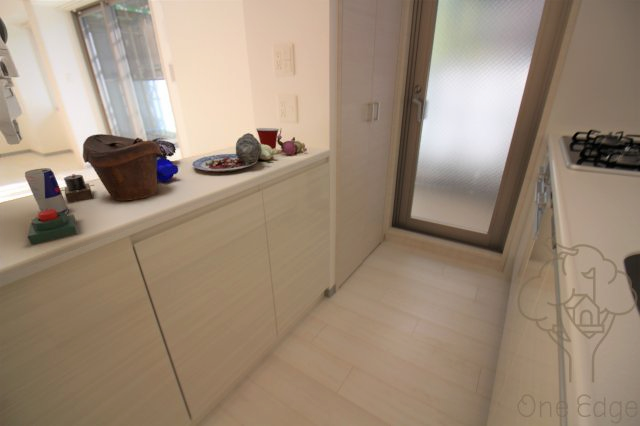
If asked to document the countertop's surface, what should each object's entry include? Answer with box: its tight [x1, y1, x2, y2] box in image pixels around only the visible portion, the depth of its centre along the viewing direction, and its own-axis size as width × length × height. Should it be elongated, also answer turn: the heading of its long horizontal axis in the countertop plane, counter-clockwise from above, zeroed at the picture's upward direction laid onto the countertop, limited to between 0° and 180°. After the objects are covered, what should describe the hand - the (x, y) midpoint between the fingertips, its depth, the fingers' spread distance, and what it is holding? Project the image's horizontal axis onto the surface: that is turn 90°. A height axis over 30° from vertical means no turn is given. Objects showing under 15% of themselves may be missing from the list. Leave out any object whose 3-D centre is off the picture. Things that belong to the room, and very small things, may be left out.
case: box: [82, 133, 164, 201], centre depth 87 cm, size 18×20×18 cm
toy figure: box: [157, 158, 179, 183], centre depth 103 cm, size 9×10×15 cm
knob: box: [63, 173, 87, 190], centre depth 87 cm, size 4×4×4 cm
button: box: [37, 209, 58, 221], centre depth 66 cm, size 3×3×2 cm
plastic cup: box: [255, 127, 280, 149], centre depth 138 cm, size 11×11×12 cm
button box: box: [26, 212, 78, 246], centre depth 67 cm, size 8×8×4 cm
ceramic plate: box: [191, 153, 258, 173], centre depth 119 cm, size 26×26×3 cm
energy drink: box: [24, 167, 69, 214], centre depth 75 cm, size 5×5×12 cm
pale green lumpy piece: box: [257, 144, 278, 161], centre depth 129 cm, size 13×7×15 cm
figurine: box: [277, 129, 308, 157], centre depth 138 cm, size 11×13×15 cm
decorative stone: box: [235, 132, 262, 163], centre depth 118 cm, size 22×10×10 cm
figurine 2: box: [276, 136, 296, 152], centre depth 145 cm, size 8×8×6 cm
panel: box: [60, 183, 95, 204], centre depth 88 cm, size 9×9×3 cm
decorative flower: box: [151, 137, 177, 159], centre depth 120 cm, size 15×12×15 cm
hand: (16, 142), depth 59 cm, fingers closed
